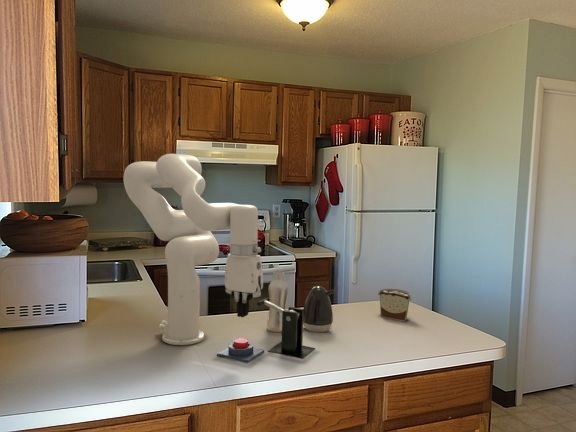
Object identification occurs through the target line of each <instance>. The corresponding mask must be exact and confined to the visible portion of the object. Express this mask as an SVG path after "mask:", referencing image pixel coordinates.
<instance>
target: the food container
mask: <svg viewBox="0 0 576 432" xmlns="http://www.w3.org/2000/svg"><path fill="white" fill-rule="evenodd" d="M377 295H378V296H379V308H380V309H379V312H380V317H381V318H384V319H390V320H395V321H398V322H399V321H400V322H404V323H405V322H407V318H408V313H409V306H410V302H411V301H412V294H411V292H409V291H407V290H405V289H399V288H381V289H379V290H378V294H377Z"/></svg>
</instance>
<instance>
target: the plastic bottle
mask: <svg viewBox="0 0 576 432" xmlns="http://www.w3.org/2000/svg"><path fill="white" fill-rule="evenodd" d="M285 277H286V276H285V271H283V270H273V271H272V278H273V279H272V280H271V282H270V283H269V285H268V287H267V288H268V298H269V299H270V301H269V302H270V303H272V304H274V305H276V306H279V307H281V308H283V309H285V310H287V300H288V293H289V285H288V284H287V282H286V280H285ZM268 309H269V310H268V316H267V320H266V321H267V322H266V328H267V330H268V332H271V333H282V313H280V312H278V311H276V310H274V309H272V308H270V307H268Z"/></svg>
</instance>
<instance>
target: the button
mask: <svg viewBox="0 0 576 432" xmlns="http://www.w3.org/2000/svg"><path fill="white" fill-rule="evenodd" d="M233 342H234V347H235V348H247V347H248V342H249V339H248V338H245V337H238V338H235V339H233Z"/></svg>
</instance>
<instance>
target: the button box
mask: <svg viewBox="0 0 576 432" xmlns="http://www.w3.org/2000/svg"><path fill="white" fill-rule="evenodd" d="M264 353H265V349H263V348H258V347H255V346H254V343H252V342H251V341H248V347H247V348H235V347H234V341H232V342H230V343H228V347H225V348H224V349H222V350H220V351H218V352H217V353H216V356H217V357H218V358H219V357H220V358H224V359H229V360H233V361H237V362H241V363H246V364H249V363H250V362H252V361H253V360H255V359H257V358H258V357H260V356H261V355H262V354H264Z"/></svg>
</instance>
